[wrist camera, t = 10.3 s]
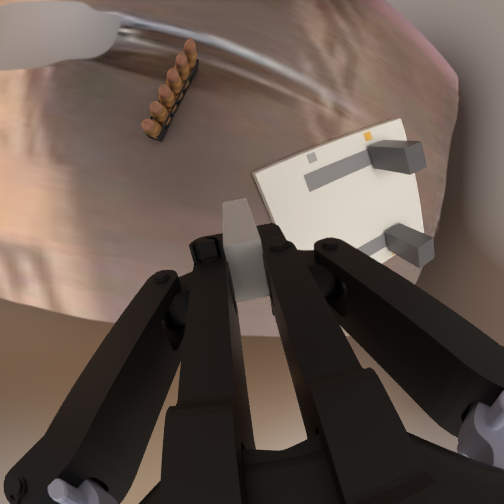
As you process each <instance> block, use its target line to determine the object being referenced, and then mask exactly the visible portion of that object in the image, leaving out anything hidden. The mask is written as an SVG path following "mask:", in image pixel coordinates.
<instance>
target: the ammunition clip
mask: <svg viewBox="0 0 504 504" xmlns="http://www.w3.org/2000/svg"><path fill="white" fill-rule="evenodd" d="M198 64H199V60H198V59H197V52H196V44H195V41H194V40H193V39H192V38H189V39H188V40H187V41H186V42H185V44H184V49H183V52H182V53H179V54H178V55H177V57H176V60H175V66H174V68H171V69H169V70H168V72H167V80H166V84H162V85H161V86H160V87H159V89H158V93H159V96H158V98H159V102H157V101H154V102H152V103H151V104H150V111H151V118H150V119H145V120H143V121H142V124H141V126H142V128H143V130H144V133H145V134H146V135H147V136H148V137H149V138H152V139H155V140H158V141H160V142H162V141H163V138H164V136H165V134H166V132H167V130H168V128H169V125H170V123H171V121H172V119H173V117H174V115H175V113H176V111H177V109H178V107H179V105H180V103H181V101H182V99H183V97H184V95H185V94H186V92H187V90H188V88H189V86H190V84H191V82H192V81H193V79H194V77H195V75H196V73H197V71H198ZM153 118H154V119H155V120H153Z"/></svg>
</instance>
